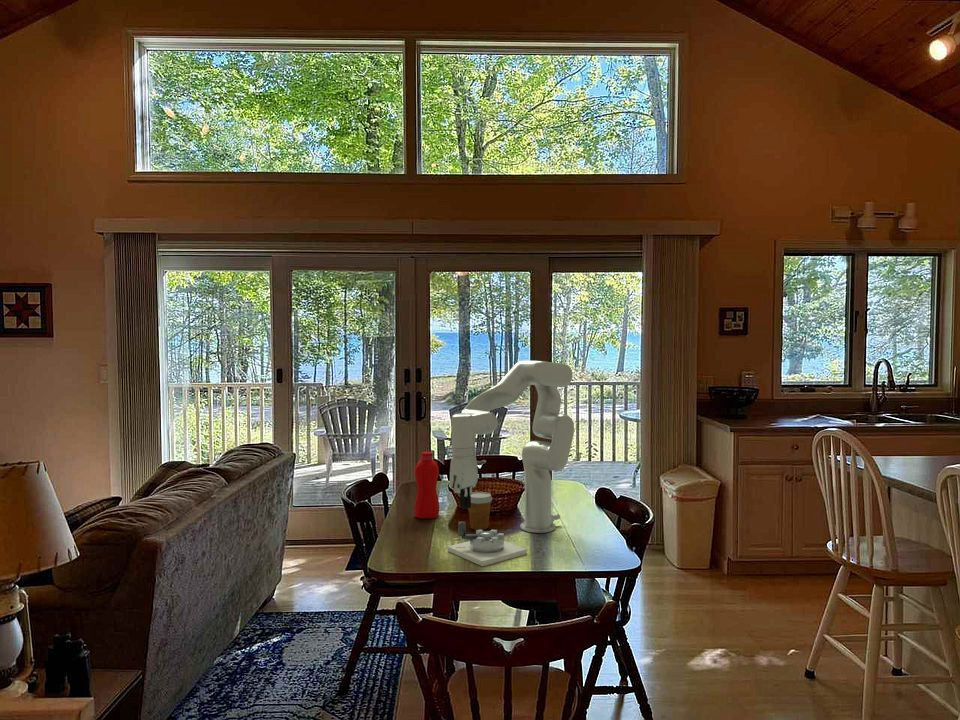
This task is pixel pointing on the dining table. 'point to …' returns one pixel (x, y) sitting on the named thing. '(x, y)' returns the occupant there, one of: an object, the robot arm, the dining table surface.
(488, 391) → the robot arm
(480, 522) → the disposable coffee cup
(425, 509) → the water bottle
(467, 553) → the base plate
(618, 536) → the dining table surface
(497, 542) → the silver lever knob
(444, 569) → the dining table surface
